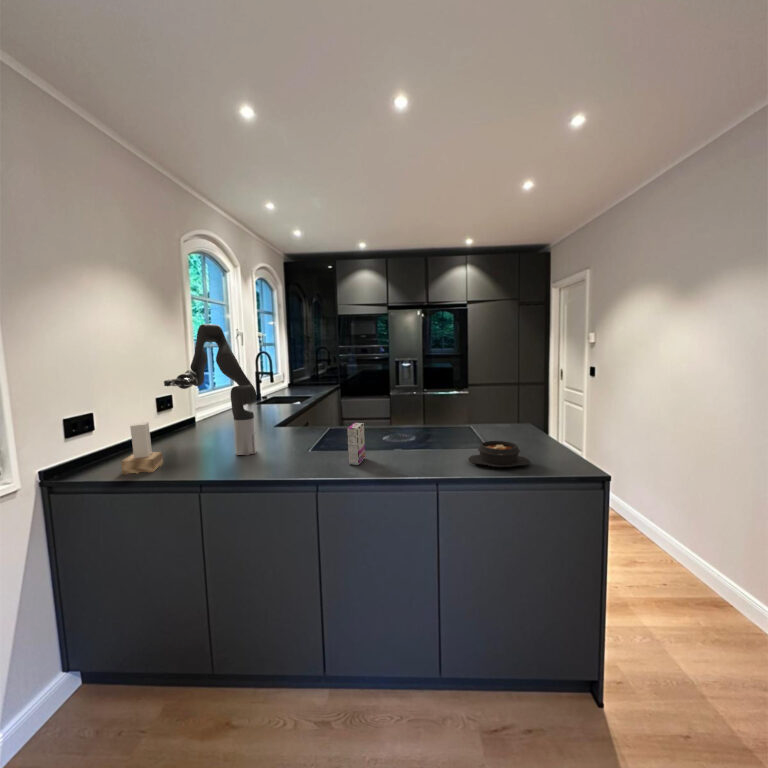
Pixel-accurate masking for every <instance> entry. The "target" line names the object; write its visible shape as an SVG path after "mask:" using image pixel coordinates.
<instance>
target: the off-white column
mask: <svg viewBox="0 0 768 768" xmlns="http://www.w3.org/2000/svg"><path fill="white" fill-rule="evenodd" d="M149 423H150V422H140V423H133V424H131V425H130V437H131V443H132V454H134V458H143V457H149V456H150V455H151V454H152V452H153V449H152V442H151V441H152V440H151V432H150V424H149Z"/></svg>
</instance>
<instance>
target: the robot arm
mask: <svg viewBox="0 0 768 768" xmlns="http://www.w3.org/2000/svg"><path fill="white" fill-rule="evenodd" d="M195 340H196V341H195V346H194V354H193V357H192V361H191V364H190V369H189V370H186V371H185V372H184V373H182V374H179V375H177V377H176V378H173V379H167V380H163V384H164V385H163V386H164V387H170V386H171V387H178V388H180V389H181V390H182V389H183V390H185V389H189V388H191V387H193V386H195V387H201V386H202V385H203V383H204V381H205V369H206V365H207V363H208V356H207V353H206V350H205V344H206V343H215V344H216V345H217V353H216V356H215V361H216V364H217V366H218V368H219V370H220V372H221V373H222V374H223V375H225V377H228V378H229V379H230V380H232V381H233V382H234V383H236V384H237V385H235V386H233V387H231V390H230V403H231V414H232V415H233V428H234V430H233V431H234V445H235V455H236V456H238V455H246V456H250V454H252V455H255V454H256V453H257V438H256V431H255V430H256V429H255V415H254V412H253V411H251V410H246V409H245V407H244V405H250V404H254V403H256V401H257V399H258V394H257V391H256V389H255V387H254V385H253V384H252V382H251V381H250V380H249V378H248V377H247V375H246V374H245V373H244V370H243V369H242V367H241V365H240V364H239V362H238V360H237V358H236V356H235V354H234V353H233V350H232V349H231V347H230V345H229V343H228V341H227V338H226V336H225V333H224V331H223V328H221V326H220V325H219V324H210V323H201V324H200V325H199V327H198V329H197V334H196V338H195Z"/></svg>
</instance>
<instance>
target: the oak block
mask: <svg viewBox="0 0 768 768" xmlns="http://www.w3.org/2000/svg"><path fill="white" fill-rule="evenodd" d="M163 457H164V456H163V451H152V454H151V455H150V456H149V457H143V458H134V454H133V453H131V454H130V455H129V456H127V457H126V458H124V459H122V460H121V461H120V462H121V463H120V465H121V472H122V473H121V474H124V475H128V474H127V473H136V474H140V473H139V472H148V473H155V472H156V471H157V470H158V469H159V468H160V467H161V466H163V465H164V460H163V459H164V458H163ZM159 466H160V467H159ZM158 467H159V468H158ZM157 468H158V469H157ZM156 469H157V470H156ZM155 470H156V471H155ZM154 471H155V472H154Z"/></svg>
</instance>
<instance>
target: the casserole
mask: <svg viewBox="0 0 768 768" xmlns="http://www.w3.org/2000/svg"><path fill="white" fill-rule="evenodd" d="M477 450H478V451H479V454H475V455H473V454H472V455H470V456H469V457H468V459H467V460H468V461H469V462H470V463H472V464H476V465H483V466H487V465H488V466H487V467H490V466H494V467H508V468H513V467H518V466H527V465H529V464H531V461H530V459H528V458H527V457H525V456H522V455H521V456H520V455H519V453H520V452H521V451H520V450H521V449H519V447H518V444H516V443H514V442H510V441H504V440H489V441H483V442H481V443H480V445H479V447H478V448H477ZM494 467H493V468H494Z"/></svg>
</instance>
